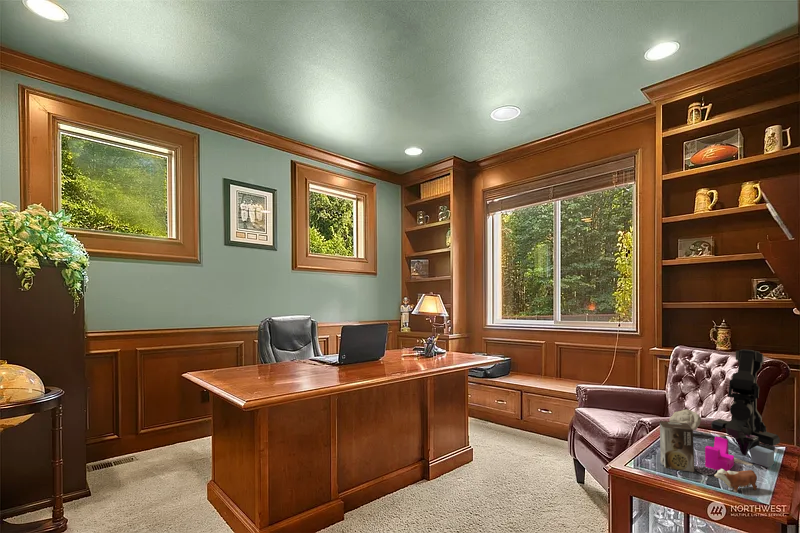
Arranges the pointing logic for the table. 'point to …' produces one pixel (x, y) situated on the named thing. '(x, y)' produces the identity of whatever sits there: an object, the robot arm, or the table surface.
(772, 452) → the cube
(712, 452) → the toy block
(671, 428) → the beige tall box
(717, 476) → the bull figurine
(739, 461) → the letter
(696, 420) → the fossil replica
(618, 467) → the table surface
